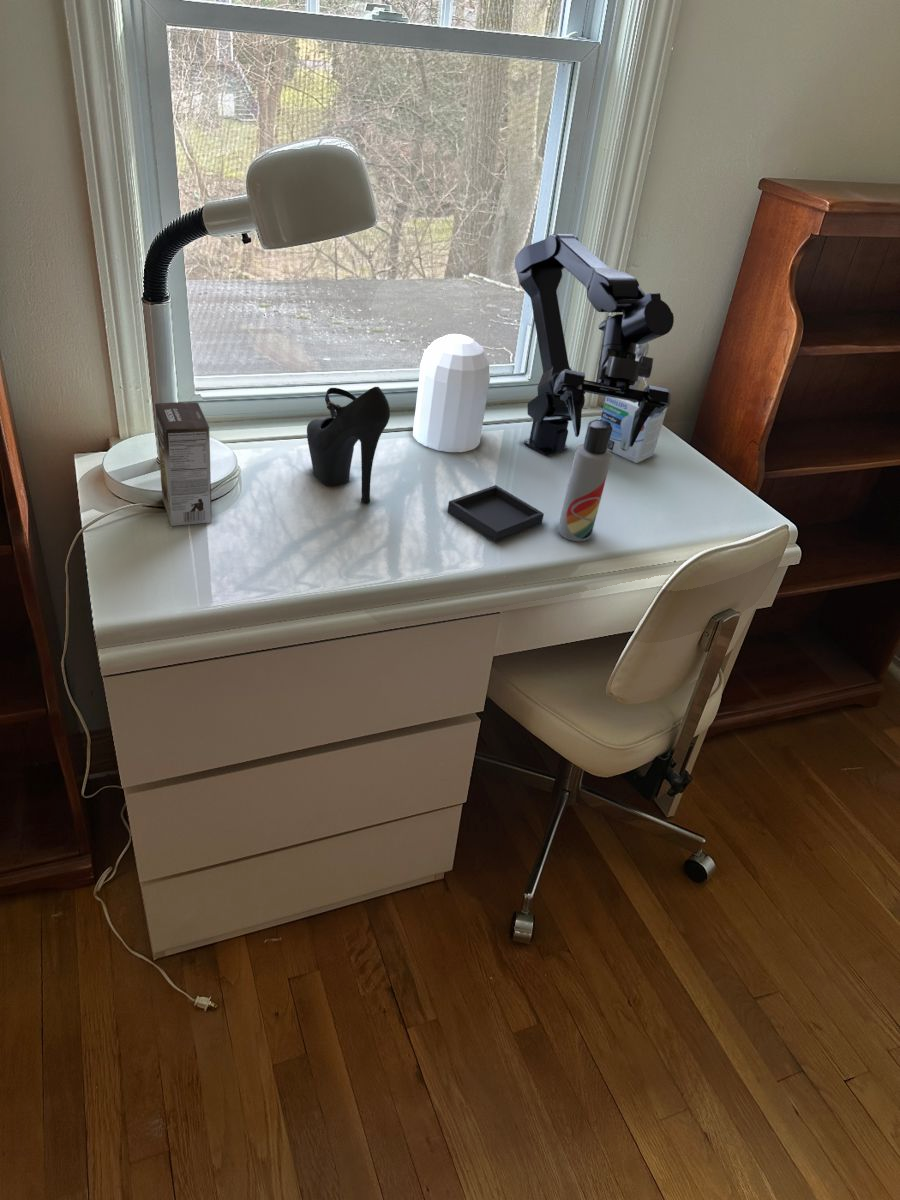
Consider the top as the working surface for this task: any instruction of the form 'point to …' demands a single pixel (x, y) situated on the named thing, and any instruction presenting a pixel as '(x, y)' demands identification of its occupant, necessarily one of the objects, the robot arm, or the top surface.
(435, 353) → the container
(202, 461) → the coffee box
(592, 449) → the lotion bottle
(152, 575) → the top surface
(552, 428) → the robot arm
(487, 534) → the tray
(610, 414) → the light bulb box
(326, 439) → the high-heeled shoe
